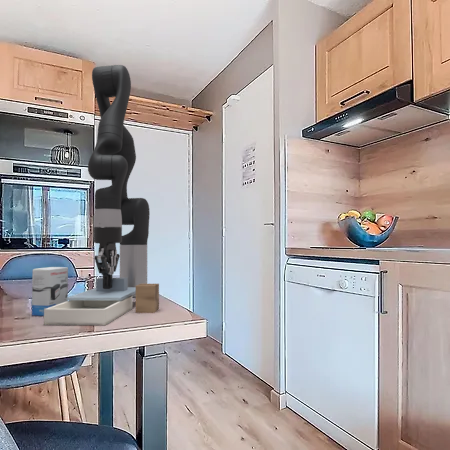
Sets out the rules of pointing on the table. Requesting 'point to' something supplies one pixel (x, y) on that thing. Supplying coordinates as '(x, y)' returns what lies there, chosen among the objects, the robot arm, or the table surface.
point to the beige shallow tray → (86, 312)
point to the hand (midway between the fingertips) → (107, 288)
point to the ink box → (48, 288)
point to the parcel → (147, 298)
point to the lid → (107, 291)
